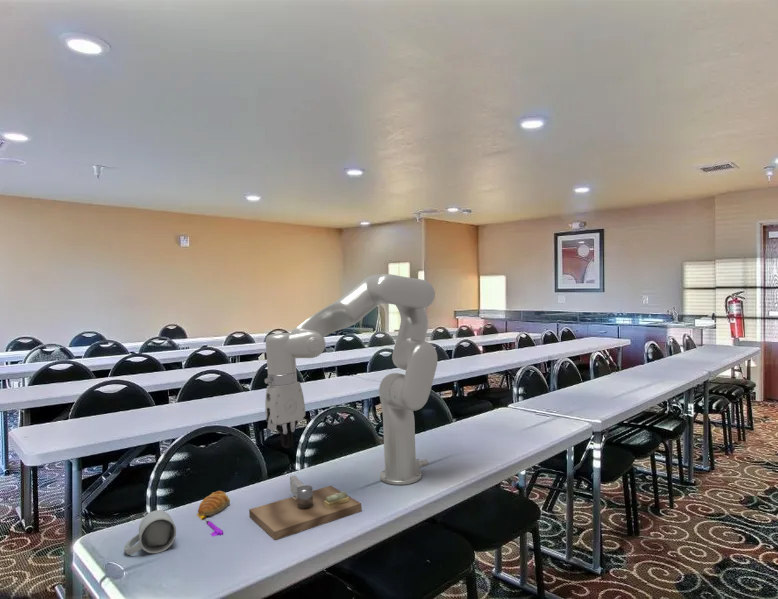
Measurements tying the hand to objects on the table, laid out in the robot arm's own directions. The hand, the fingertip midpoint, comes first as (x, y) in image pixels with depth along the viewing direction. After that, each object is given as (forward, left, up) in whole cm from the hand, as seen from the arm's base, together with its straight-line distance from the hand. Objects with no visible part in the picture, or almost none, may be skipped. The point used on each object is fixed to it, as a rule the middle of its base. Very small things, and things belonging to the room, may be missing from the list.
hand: (287, 446), depth 139 cm
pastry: (+17, -11, -16) cm, 26 cm away
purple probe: (+21, -3, -17) cm, 27 cm away
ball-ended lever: (-2, +3, -14) cm, 14 cm away
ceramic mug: (+35, 0, -16) cm, 38 cm away
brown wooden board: (-1, +8, -16) cm, 18 cm away
